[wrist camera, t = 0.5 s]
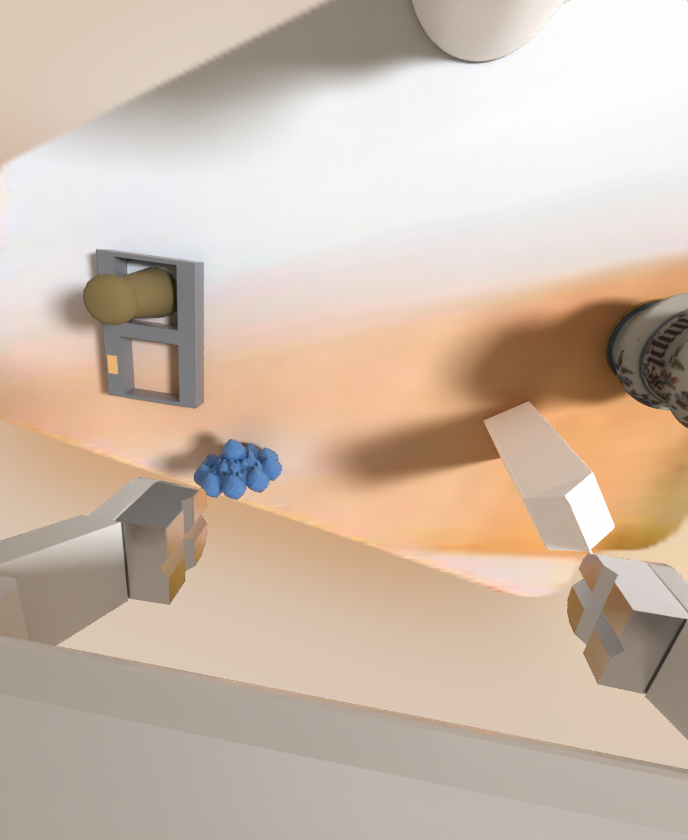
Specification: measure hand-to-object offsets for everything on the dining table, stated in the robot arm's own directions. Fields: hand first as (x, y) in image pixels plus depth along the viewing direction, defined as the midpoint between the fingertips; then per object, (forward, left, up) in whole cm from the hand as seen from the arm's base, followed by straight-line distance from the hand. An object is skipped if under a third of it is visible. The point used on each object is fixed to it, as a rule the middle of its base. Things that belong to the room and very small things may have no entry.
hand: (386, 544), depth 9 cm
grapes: (+21, -17, -45) cm, 52 cm away
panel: (+7, -30, -45) cm, 54 cm away
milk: (+13, +17, -45) cm, 50 cm away
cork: (+2, -30, -45) cm, 54 cm away
